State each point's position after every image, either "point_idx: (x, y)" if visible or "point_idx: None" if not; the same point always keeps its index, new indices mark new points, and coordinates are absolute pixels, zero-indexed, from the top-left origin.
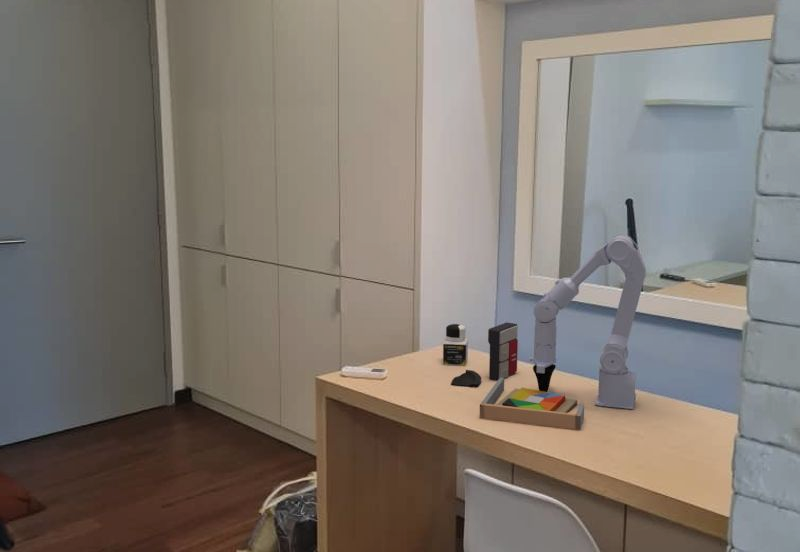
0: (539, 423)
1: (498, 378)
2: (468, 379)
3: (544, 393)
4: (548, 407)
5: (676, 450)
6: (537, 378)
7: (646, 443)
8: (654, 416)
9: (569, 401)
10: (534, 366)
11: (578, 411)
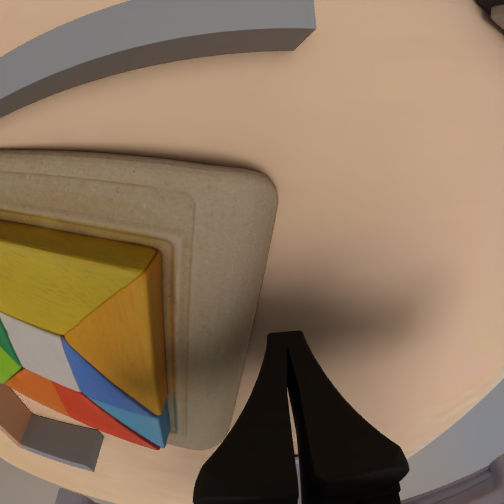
0: None
1: (489, 4)
2: None
3: (126, 398)
4: (28, 392)
5: (88, 485)
6: (242, 413)
7: (77, 473)
8: None
9: (169, 437)
10: (255, 501)
11: (36, 451)
